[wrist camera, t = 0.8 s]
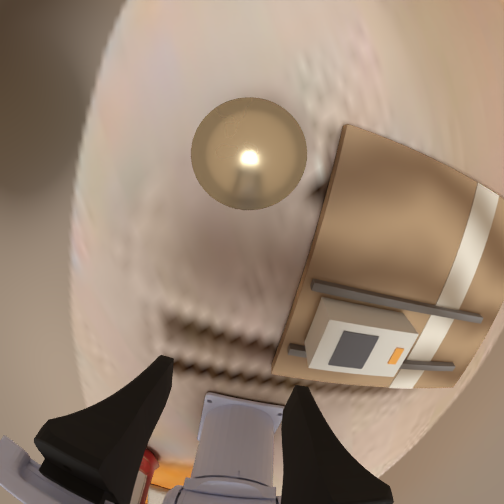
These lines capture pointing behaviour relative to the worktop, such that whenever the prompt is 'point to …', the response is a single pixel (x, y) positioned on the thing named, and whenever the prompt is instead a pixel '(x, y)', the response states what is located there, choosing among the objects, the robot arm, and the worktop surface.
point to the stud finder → (358, 339)
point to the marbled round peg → (249, 153)
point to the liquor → (144, 478)
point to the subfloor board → (402, 260)
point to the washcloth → (156, 494)
